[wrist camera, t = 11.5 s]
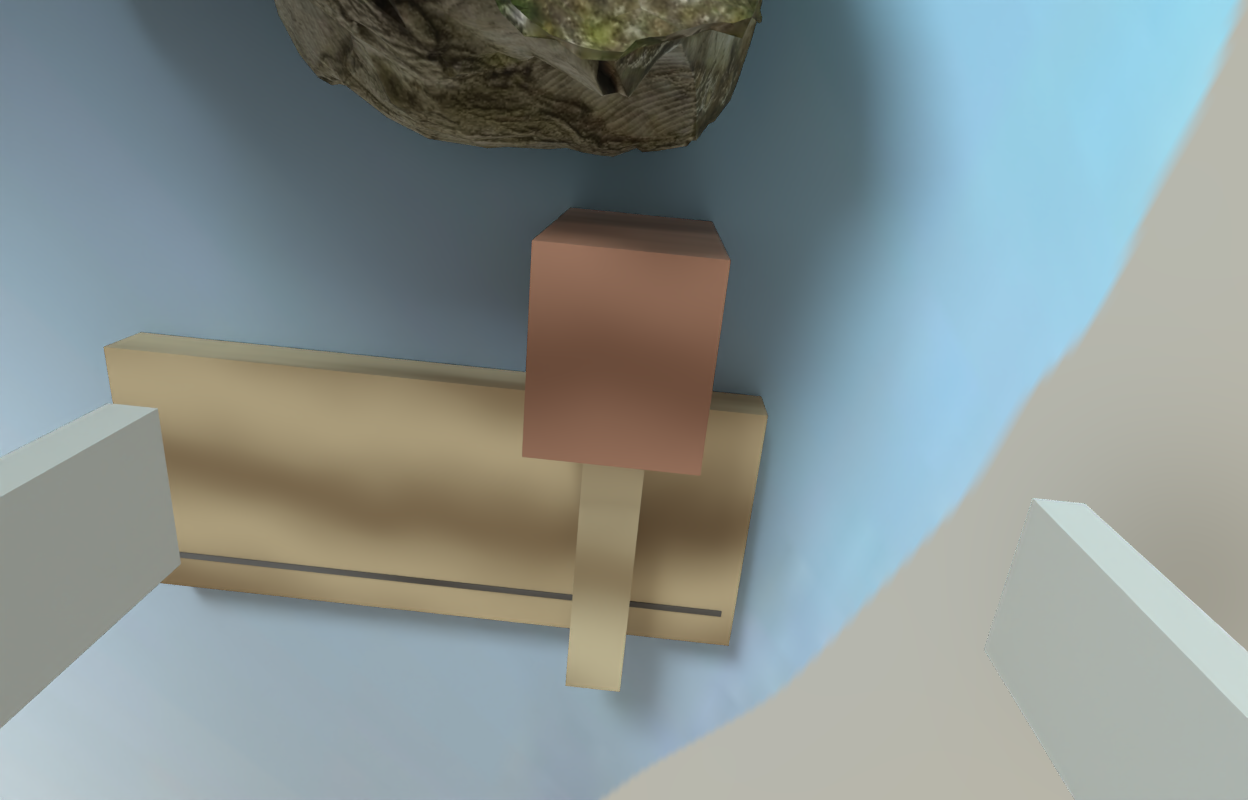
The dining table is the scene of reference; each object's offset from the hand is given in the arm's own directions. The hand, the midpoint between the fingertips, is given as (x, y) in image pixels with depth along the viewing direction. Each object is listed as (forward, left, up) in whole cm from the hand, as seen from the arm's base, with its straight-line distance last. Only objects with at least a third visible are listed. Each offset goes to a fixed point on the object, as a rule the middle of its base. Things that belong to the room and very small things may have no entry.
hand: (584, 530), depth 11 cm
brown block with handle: (+5, 0, -17) cm, 18 cm away
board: (+8, -7, -17) cm, 20 cm away
